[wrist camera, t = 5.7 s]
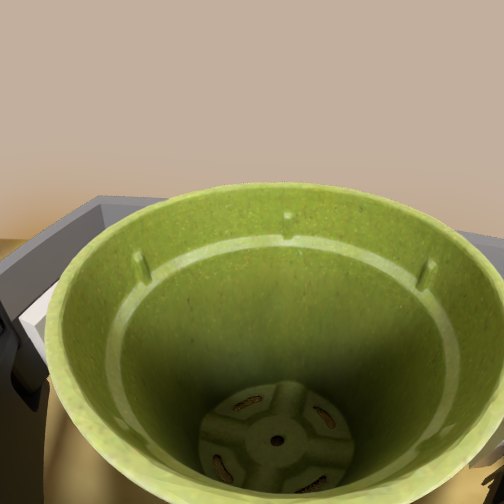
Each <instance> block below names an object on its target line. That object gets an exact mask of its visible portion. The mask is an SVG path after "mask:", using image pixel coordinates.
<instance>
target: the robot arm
mask: <svg viewBox="0 0 504 504" xmlns="http://www.w3.org/2000/svg"><path fill="white" fill-rule="evenodd" d="M60 277H61V276H60ZM60 277H59V278H58V279H57V280H56V281H55V282H54V283H52V284H51V287H48V288H47V289H46V290H45V291H43V294H40V295H39V296H38V297H37V298H36V299H35V300H34V301H33V302H32V303H30V304H29V305H28V306H27V307H26V308H25V309H24V310H23V311H22V312H21V313H20V314H19V315H18V316H17V317H16V318H15V319H14V320H13V321H11V320H10V318H9V316H8V314H7V312H6V310H5V308H4V306H3V304H2V302H1V300H0V504H44V493H43V464H44V441H45V428H46V417H47V407H48V399H49V392H50V386H49V382H48V381H47V379H46V378H47V377H48V376H49V375H50V373H49V370H48V365H47V360H46V354H45V341H44V336H45V323H46V312H47V309H48V304H49V302H50V299H51V296H52V293H53V291H54V289H55V287H56V285H57V283H58V281H59V279H60ZM503 455H504V418H503V419H502V421H501V423H500V425H499V426H498V428H497V430H496V431H495V432H494V434H493V435H492V436H491V438H490V439H489V440H488V442H487V443H486V444H485V446H484V447H483V448H482V449H481V450H480V451H479V453H478V454H477V455H476V456H475V457H474V458H473V459H472V460H471V461H470V462H469V469H472V468H479V467H485V466H491V465H492V464H493V463H495V462H496V461H497V460H498V459H500V458H501V457H502V456H503ZM493 479H494V481H493V483H491V484H490V485H489V486H488V487H487V488H489V489H490V490H489V492H488V494H487V496H486V499H485V501H484V503H483V504H504V465H503V466H502V467H500V468H499V469H498V470H496V471H495V472H494V473H492V474H491V475H489V476H488V477H487V478H485V480H484V481H483V482H482V484H481V485H483V486H484V485H486V484H487V483H489V482H490V481H492V480H493Z"/></svg>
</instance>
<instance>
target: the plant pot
mask: <svg viewBox="0 0 504 504" xmlns="http://www.w3.org/2000/svg"><path fill="white" fill-rule="evenodd" d="M44 341H45V354H46V360H47V365H48V370H49V373H50V376H51V379H52V382H53V386H54V388H55V391H56V393H57V395H58V397H59V399H60V401H61V403H62V405H63V407H64V408H65V410H66V412H67V413H68V415H69V417H70V418H71V420H72V422H73V423H74V424H75V426H76V427H77V428H78V430H79V431H80V432H81V434H82V435H83V436H84V437H85V439H86V440H87V441H88V442H89V443H90V444H91V445H92V447H93V448H94V449H95V450H96V451H97V452H98V453H99V454H100V455H101V456H102V457H103V458H104V459H105V460H106V461H107V462H108V463H109V464H111V465H112V466H113V467H114V468H116V469H117V470H118V471H119V472H121V473H122V474H123V475H124V476H126V477H127V478H128V479H130V480H131V481H132V482H134V483H135V484H136V485H138V486H140V487H141V488H143V489H145V490H146V491H148V492H150V493H152V494H153V495H155V496H157V497H159V498H160V499H162V500H164V501H166V502H168V503H170V504H410V503H412V502H414V501H416V500H417V499H419V498H421V497H423V496H424V495H426V494H428V493H430V492H431V491H433V490H434V489H436V488H438V487H439V486H441V485H442V484H443V483H445V482H446V481H448V480H449V479H450V478H452V477H453V476H454V475H455V474H456V473H458V472H459V471H460V470H461V469H462V468H463V467H465V466H466V465H467V464H468V463H469V462H470V461H471V460H472V459H473V458H474V457H475V456H476V455H477V454H478V453H479V451H480V450H481V449H482V448H483V447H484V446H485V444H486V443H487V442H488V440H489V439H490V438H491V436H492V435H493V434H494V432H495V431H496V430H497V428H498V426H499V425H500V423H501V421H502V419H503V418H504V281H503V279H502V277H501V275H500V274H499V273H498V272H497V270H496V269H495V267H494V266H493V265H492V264H491V263H490V262H489V260H488V259H487V258H486V257H485V256H484V255H483V254H482V253H481V252H480V251H479V250H478V249H477V248H476V247H475V246H473V245H472V244H471V243H470V242H469V241H468V240H467V239H465V238H464V237H463V236H462V235H460V234H459V233H457V232H456V231H454V230H453V229H452V228H450V227H448V226H446V225H444V224H443V223H442V222H440V221H439V220H437V219H435V218H433V217H431V216H429V215H427V214H425V213H423V212H421V211H418V210H416V209H413V208H411V207H409V206H407V205H403V204H400V203H398V202H396V201H393V200H390V199H387V198H384V197H381V196H377V195H372V194H368V193H365V192H361V191H357V190H354V189H349V188H343V187H336V186H331V185H321V184H312V183H299V182H295V183H294V182H274V183H243V184H232V185H226V186H218V187H213V188H209V189H206V190H201V191H194V192H190V193H186V194H183V195H178V196H175V197H173V198H170V199H168V200H166V201H162V202H158V203H156V204H152V205H149V206H147V207H145V208H143V209H141V210H138V211H136V212H135V213H133V214H130V215H129V216H127V217H125V218H124V219H122V220H120V221H118V222H117V223H115V224H113V225H111V226H110V227H108V228H107V229H105V230H104V231H103V232H102V233H100V234H99V235H98V236H96V237H95V238H94V239H92V241H91V242H89V243H88V244H87V245H86V246H85V247H84V248H82V250H81V251H80V252H79V253H78V254H77V255H76V257H74V258H73V260H72V261H71V263H70V264H69V265H68V267H67V268H66V269H65V271H64V272H63V274H62V275H61V277H60V279H59V281H58V283H57V285H56V287H55V289H54V291H53V293H52V296H51V299H50V302H49V304H48V309H47V312H46V323H45V336H44ZM253 396H261V397H262V401H260V402H256V403H254V404H251V405H249V406H247V407H244V408H242V409H240V410H239V411H237V412H236V411H233V407H234V405H236V404H238V403H240V402H242V401H244V400H245V399H247V398H249V397H253ZM314 406H315V407H319V408H321V409H323V410H324V411H326V412H327V413H328V414H329V415H330V416H331V417H332V419H333V420H334V422H335V427H334V428H333V429H330V428H329V427H328V426H327V424H326V423H325V421H324V420H323V419H322V417H321V416H320V415H319V414H318V413H317V410H315V409H313V407H314ZM277 435H278V436H281V437H283V439H284V443H283V444H282V445H280V446H273V445H272V444H271V438H272V437H275V436H277ZM214 455H220V457H221V459H222V462H223V464H224V466H225V469H226V470H227V471H228V473H229V474H230V475H231V476H232V477H233V479H234V481H233V483H227V482H225V481H223V480H222V479H221V478H220V476H219V474H218V472H217V470H216V468H215V467H214V464H213V457H214ZM321 476H326V483H324V484H323V485H322V486H321V487H320V488H319V489H317V490H315V491H314V492H312V493H302V494H295V492H296V491H299V490H301V489H303V488H305V487H307V486H309V485H310V484H312V483H313V482H315V481H317V480H318V479H319V478H320V477H321Z"/></svg>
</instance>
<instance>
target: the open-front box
mask: <svg viewBox="0 0 504 504" xmlns="http://www.w3.org/2000/svg"><path fill="white" fill-rule="evenodd" d="M166 200H168V199H166V198H147V197H125V196H97V197H95V198H94V199H92V200H90V201H89V202H87V203H85V204H84V205H82V206H80V207H79V208H77V209H76V210H74V211H72V212H71V213H69V214H68V215H66V216H64V217H63V218H61V219H60V220H58V221H57V222H55V223H54V224H52V225H51V226H49V227H48V228H46V229H45V230H43V231H42V232H40V233H39V234H37V235H36V236H35V237H33V238H32V239H30V240H29V241H27V242H26V243H25V244H23V245H22V246H20V247H19V248H18V249H16V250H15V251H14V252H12V253H11V254H10V255H8V256H7V257H6V258H4V259H3V260H2V261H0V300H1V302H2V304H3V306H4V308H5V310H6V312H7V314H8V316H9V318H10V320H11V321H13V320H14V319H15V318H16V317H17V316H18V315H19V314H20V313H21V312H22V311H23V310H24V309H25V308H26V307H27V306H28V305H29V304H30V303H32V302H33V301H34V300H35V299H36V298H37V297H38V296H39V295H40V294H43V291H45V290H46V289H47V288H48V287H51V284H52V283H54V282H55V281H56V280H57V279H58V278H59V277H60V276H61V275H62V274H63V272H64V271H65V269H66V268H67V267H68V265H69V264H70V263H71V261H72V260H73V258H74V257H76V255H77V254H78V253H79V252H80V251H81V250H82V248H84V247H85V246H86V245H87V244H88V243H89V242H91V241H92V239H94V238H95V237H96V236H98V235H99V234H100V233H102V232H103V231H104V230H105V229H107V228H108V227H110V226H111V225H113V224H115V223H117V222H118V221H120V220H122V219H124V218H125V217H127V216H129V215H130V214H133V213H135V212H136V211H138V210H141V209H143V208H145V207H147V206H149V205H152V204H156V203H158V202H162V201H166ZM454 231H456V230H454ZM456 232H457V233H459V234H460V235H462V236H463V237H464V238H465V239H467V240H468V241H469V242H470V243H471V244H472V245H473V246H475V247H476V248H477V249H478V250H479V251H480V252H481V253H482V254H483V255H484V256H485V257H486V258H487V259H488V260H489V262H490V263H491V264H492V265H493V266H494V267H495V269H496V270H497V272H498V273H499V274H500V275H501V277H502V279H503V281H504V239H501V238H496V237H491V236H485V235H479V234H474V233H469V232H463V231H456Z"/></svg>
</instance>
